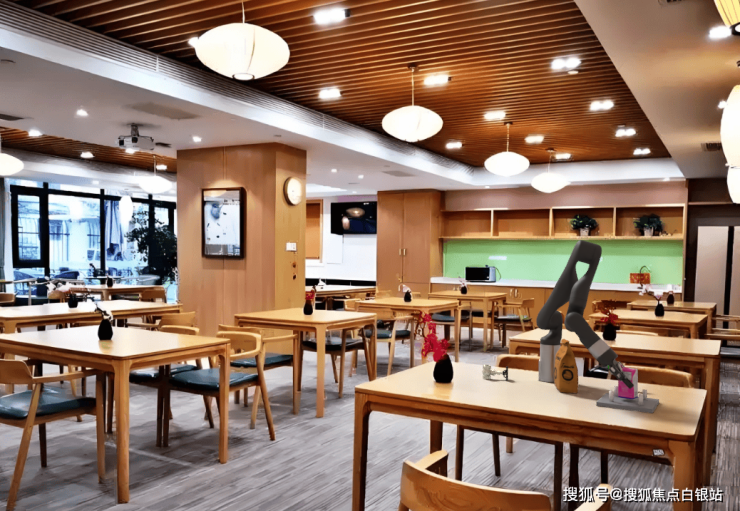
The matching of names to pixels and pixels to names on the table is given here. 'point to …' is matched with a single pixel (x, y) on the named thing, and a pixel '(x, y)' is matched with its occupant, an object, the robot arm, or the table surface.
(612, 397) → the peg cradle
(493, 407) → the table surface
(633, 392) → the supplement box
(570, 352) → the coffee package
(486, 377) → the valve
